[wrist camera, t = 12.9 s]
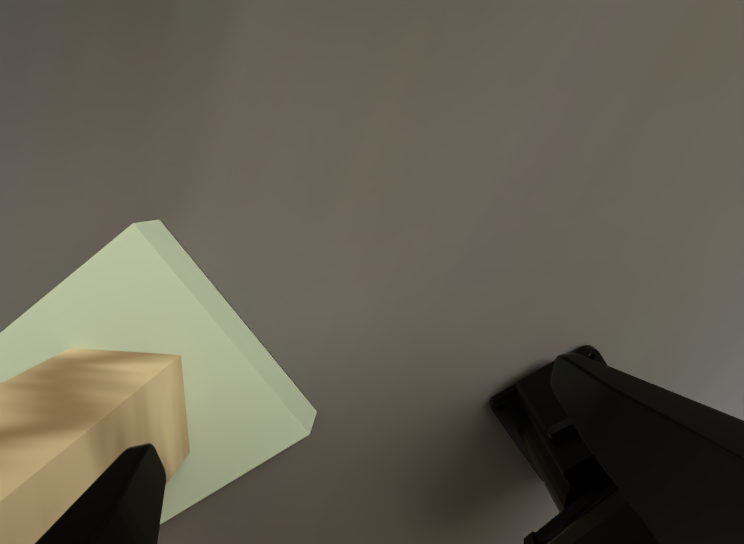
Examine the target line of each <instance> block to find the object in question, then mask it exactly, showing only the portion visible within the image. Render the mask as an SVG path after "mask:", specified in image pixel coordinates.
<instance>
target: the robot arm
mask: <svg viewBox="0 0 744 544" xmlns="http://www.w3.org/2000/svg"><path fill="white" fill-rule="evenodd" d="M588 353H591V356H590V357H588V358H587V357H586V355H587V354H588ZM498 403H503V404H502V405H501V406H499V407H497V406H496V405H497V404H498ZM490 406H491V408H492V411H493V412H494V414H495V415H496V417H497V418H498V419H499V421H500V422H501V424H502V425H503V426H504V428H505V429H506V431H507V432H508V433H509V435H510V436H511V438H512V439H513V440H514V442H515V443H516V445H517V446H518V447H519V449H520V450H521V452H522V453H523V455H524V456H525V457H526V459H527V460H528V462H529V463H530V464H531V466H532V467H533V469H534V470H535V471H536V473H537V474H538V476H539V477H540V478H541V480H542V481H543V482H544V483H545V485H546V487H547V489H548V491H549V493H550V495H551V497H552V499H553V501H554V502H555V504H556V506H557V508H558V510H559V512H560V513H559V514H558V515H556V516H555V517H554V518H553V519H552V520H550V521H549V522H548V523H547V524H546V525H544V526H543V527H542V528H541V529H540V530H538V531H537V532H536V533H535V532H531V533H530V534H529V535H528V536H526V537H525V538H524V544H744V421H743V420H740V419H738V418H735V417H733V416H730V415H728V414H725V413H723V412H720V411H718V410H716V409H713V408H711V407H708V406H706V405H703V404H701V403H698V402H696V401H693V400H691V399H688V398H686V397H683V396H681V395H678V394H676V393H673V392H671V391H668V390H666V389H664V388H661V387H659V386H656V385H654V384H651V383H649V382H646V381H644V380H641V379H639V378H636V377H634V376H631V375H629V374H626V373H624V372H621V371H619V370H617V369H614V368H612V367H609V366H607V364H606V362H605V361H604V359H603V358H602V356H601V354H600V353H599V352H598V351H597V350H596V349H595V348H594V347H593V346H590V345H585V346H582V347H580V348H579V349H577V350H575V351H573V352H572V353H567V354H563V355H559V356H557V358H556V359H555V361H554V362H552V363H550V364H549V365H547V366H545V367H543V368H542V369H540V370H538V371H536V372H535V373H533V374H531V375H529V376H527V377H526V378H524V379H522V380H520V381H519V382H518V383H517V384H515V385H513V386H511V387H510V388H508V389H506V390H504V391H502V392H501V393H499V394H497V395H495V396H494V397H492V398H491V400H490ZM165 485H166V472H165V468H164V466H163V464H162V462H161V459H160V457H159V455H158V453H157V451H156V449H155V447H154V445H153V444H151V443H146V444H141V445H136V446H132V447H129V448H127V449H126V450H124V451H123V452H122V453H121V454H120V455H119V456H118V457H117V458H116V459H115V461H114V462H113V463H112V464H111V465H110V466H109V467H108V468H107V469H106V470H105V471H104V472H103V473H102V474H101V475H100V476H99V477H98V478H97V479H96V480H95V481H94V482H93V483H92V484H91V486H90V487H89V488H88V489H87V490H86V491H85V492H84V493H83V494H82V495H81V496H80V497H79V498H78V499H77V500H76V501H75V502H74V503H73V504H72V505H71V506H70V507H69V508H68V509H67V511H66V512H65V513H64V514H63V515H62V516H61V517H60V518H59V519H58V520H57V521H56V522H55V523H54V524H53V525H52V526H51V527H50V528H49V529H48V530H47V531H46V532H45V533H44V534H43V536H42V537H41V538H40V539H39V540H38V541H37V542H36V543H35V544H157V541H158V534H159V527H160V520H161V513H162V506H163V499H164V492H165Z"/></svg>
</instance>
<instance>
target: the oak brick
mask: <svg viewBox="0 0 744 544" xmlns="http://www.w3.org/2000/svg"><path fill="white" fill-rule="evenodd" d="M146 443H151V444H153V445H154V447H155V449H156V451H157V453H158V455H159V457H160V459H161V462H162V464H163V466H164V468H165V472H166V484H167V482H168V481H169V480H170V478H171V477H172V476H173V474H174V473H175V472H176V470H177V469H178V468H179V466H180V465H181V463H182V462H183V461H184V459H185V458H186V457H187V455H188V454H189V453H190V448H189V437H188V426H187V415H186V404H185V393H184V382H183V371H182V360H181V355H175V354H159V353H143V352H128V351H112V350H96V349H80V348H69V349H67V350H65V351H63V352H61V353H59V354H57V355H55V356H53V357H51V358H49V359H47V360H45V361H43V362H42V363H40V364H38V365H36V366H34V367H32V368H30V369H28V370H26V371H24V372H22V373H20V374H18V375H16V376H14V377H12V378H10V379H8V380H6V381H4V382H2V383H0V544H35V543H36V542H37V541H38V540H39V539H40V538H41V537H42V536H43V534H44V533H45V532H46V531H47V530H48V529H49V528H50V527H51V526H52V525H53V524H54V523H55V522H56V521H57V520H58V519H59V518H60V517H61V516H62V515H63V514H64V513H65V512H66V511H67V509H68V508H69V507H70V506H71V505H72V504H73V503H74V502H75V501H76V500H77V499H78V498H79V497H80V496H81V495H82V494H83V493H84V492H85V491H86V490H87V489H88V488H89V487H90V486H91V484H92V483H93V482H94V481H95V480H96V479H97V478H98V477H99V476H100V475H101V474H102V473H103V472H104V471H105V470H106V469H107V468H108V467H109V466H110V465H111V464H112V463H113V462H114V461H115V459H116V458H117V457H118V456H119V455H120V454H121V453H122V452H123V451H124V450H126V449H127V448H129V447H132V446H136V445H141V444H146Z"/></svg>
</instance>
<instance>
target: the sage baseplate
mask: <svg viewBox="0 0 744 544" xmlns="http://www.w3.org/2000/svg"><path fill="white" fill-rule="evenodd" d="M69 348H80V349H96V350H112V351H128V352H143V353H159V354H175V355H181V360H182V371H183V382H184V393H185V404H186V415H187V426H188V437H189V448H190V453H189V454H188V455H187V457H186V458H185V459H184V461H183V462H182V463H181V465H180V466H179V468H178V469H177V470H176V472H175V473H174V474H173V476H172V477H171V478H170V480H169V481H168V482H167V484H166V485H165V492H164V499H163V506H162V513H161V520H160V524H162V523H164V522H165V521H167V520H169V519H170V518H172V517H174V516H175V515H177V514H179V513H180V512H182V511H183V510H185V509H187V508H188V507H190V506H192V505H193V504H195V503H197V502H198V501H200V500H202V499H203V498H205V497H207V496H208V495H210V494H212V493H213V492H215V491H217V490H218V489H220V488H222V487H223V486H225V485H227V484H228V483H230V482H231V481H233V480H235V479H236V478H238V477H240V476H241V475H243V474H245V473H246V472H248V471H250V470H251V469H253V468H255V467H256V466H258V465H260V464H261V463H263V462H265V461H266V460H268V459H270V458H271V457H273V456H274V455H276V454H278V453H279V452H281V451H283V450H284V449H286V448H288V447H289V446H291V445H293V444H294V443H296V442H298V441H299V440H301V439H303V438H304V437H306V436H308V435H309V434H310V432H311V429H312V426H313V422H314V419H315V416H316V413H317V411H316V410H315V409H314V407H313V406H312V405H311V404H310V403H309V401H308V400H307V399H306V398H305V396H304V395H303V394H302V393H301V392H300V390H299V389H298V388H297V387H296V386H295V384H294V383H293V382H292V381H291V379H290V378H289V377H288V376H287V375H286V373H285V372H284V371H283V370H282V368H281V367H280V366H279V365H278V364H277V362H276V361H275V360H274V359H273V358H272V356H271V355H270V354H269V353H268V351H267V350H266V349H265V348H264V347H263V345H262V344H261V343H260V342H259V340H258V339H257V338H256V337H255V336H254V334H253V333H252V332H251V331H250V330H249V328H248V327H247V326H246V325H245V323H244V322H243V321H242V320H241V319H240V317H239V316H238V315H237V314H236V312H235V311H234V310H233V309H232V308H231V306H230V305H229V304H228V303H227V302H226V300H225V299H224V298H223V297H222V295H221V294H220V293H219V292H218V291H217V289H216V288H215V287H214V286H213V284H212V283H211V282H210V281H209V280H208V278H207V277H206V276H205V275H204V274H203V272H202V271H201V270H200V269H199V267H198V266H197V265H196V264H195V263H194V261H193V260H192V259H191V258H190V256H189V255H188V254H187V253H186V252H185V250H184V249H183V248H182V247H181V245H180V244H179V243H178V242H177V241H176V239H175V238H174V237H173V236H172V235H171V233H170V232H169V231H168V230H167V228H166V227H165V226H164V225H163V224H162V222H161V221H160V220H153V221H146V222H139V223H133V224H132V225H131V226H129V227H128V228H127V229H126V230H124V231H123V232H122V233H121V234H120V235H118V236H117V237H116V238H115V239H114V240H112V241H111V242H110V243H109V244H107V245H106V246H105V247H104V248H103V249H101V250H100V251H99V252H98V253H97V254H95V255H94V256H93V257H92V258H91V259H89V260H88V261H87V262H86V263H84V264H83V265H82V266H81V267H80V268H78V269H77V270H76V271H75V272H74V273H72V274H71V275H70V276H69V277H68V278H66V279H65V280H64V281H63V282H61V283H60V284H59V285H58V286H57V287H55V288H54V289H53V290H52V291H51V292H49V293H48V294H47V295H46V296H45V297H43V298H42V299H41V300H40V301H38V302H37V303H36V304H35V305H34V306H32V307H31V308H30V309H29V310H28V311H26V312H25V313H24V314H23V315H22V316H20V317H19V318H18V319H17V320H15V321H14V322H13V323H12V324H11V325H9V326H8V327H7V328H6V329H5V330H3V331H2V332H1V333H0V383H2V382H4V381H6V380H8V379H10V378H12V377H14V376H16V375H18V374H20V373H22V372H24V371H26V370H28V369H30V368H32V367H34V366H36V365H38V364H40V363H42V362H43V361H45V360H47V359H49V358H51V357H53V356H55V355H57V354H59V353H61V352H63V351H65V350H67V349H69Z"/></svg>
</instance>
